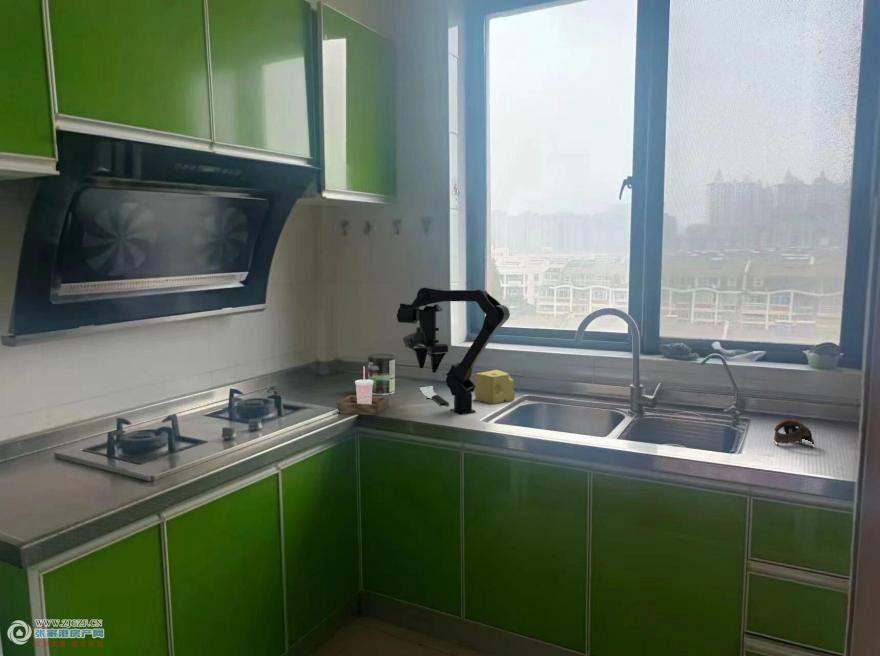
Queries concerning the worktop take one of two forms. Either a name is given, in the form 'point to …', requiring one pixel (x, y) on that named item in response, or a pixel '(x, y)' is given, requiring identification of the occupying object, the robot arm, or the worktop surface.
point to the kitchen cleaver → (433, 395)
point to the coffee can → (382, 373)
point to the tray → (363, 406)
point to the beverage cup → (364, 390)
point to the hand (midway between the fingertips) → (427, 370)
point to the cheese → (494, 387)
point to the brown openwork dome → (792, 432)
